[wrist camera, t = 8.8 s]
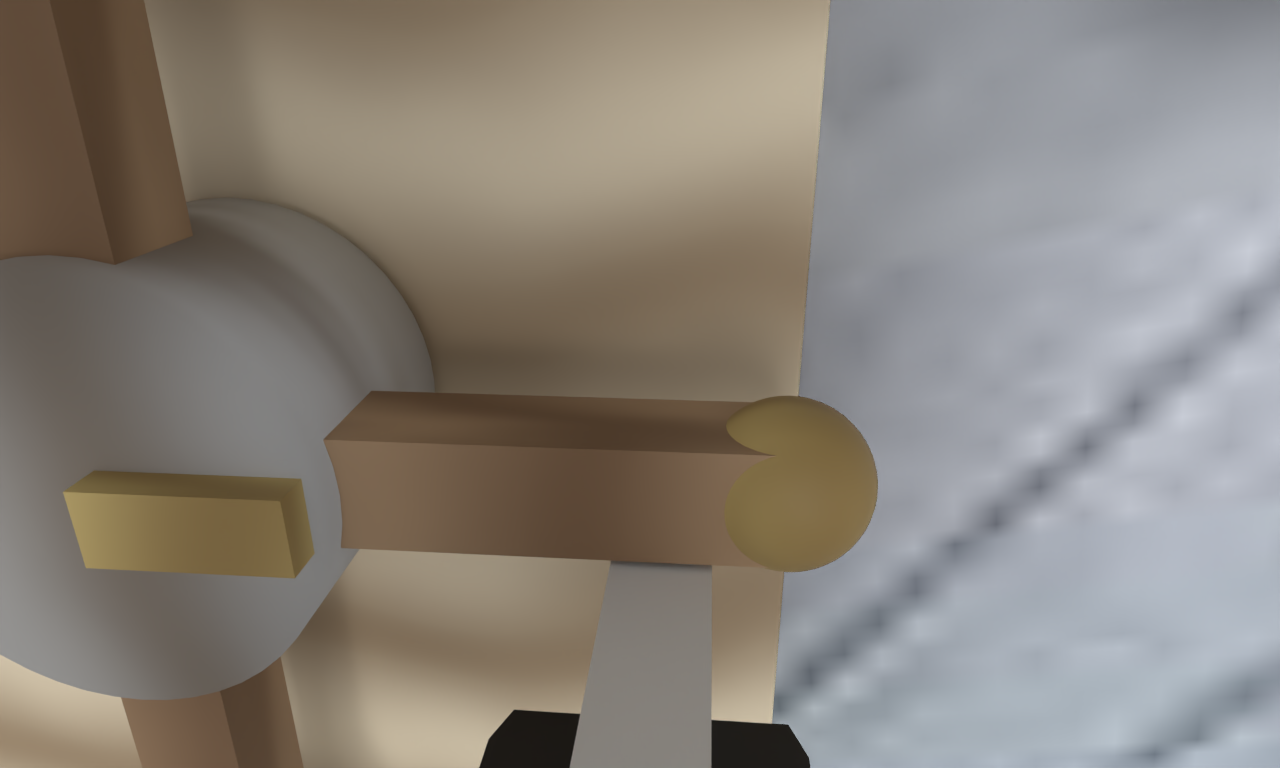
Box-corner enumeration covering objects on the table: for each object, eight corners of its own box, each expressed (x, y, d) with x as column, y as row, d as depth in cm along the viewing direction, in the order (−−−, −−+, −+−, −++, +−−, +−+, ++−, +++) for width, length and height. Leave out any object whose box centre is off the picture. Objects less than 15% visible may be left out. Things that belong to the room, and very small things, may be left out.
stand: (-463, -657, 13) (-771, -838, 10) (877, -751, 11) (927, -994, 9) (32, 738, 24) (-56, 827, 21) (759, 792, 22) (764, 896, 19)
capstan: (-81, 769, 22) (-329, 996, 17) (-557, -312, 13) (-1374, -536, 8) (802, 832, 20) (830, 1109, 15) (917, -378, 11) (1080, -722, 6)
